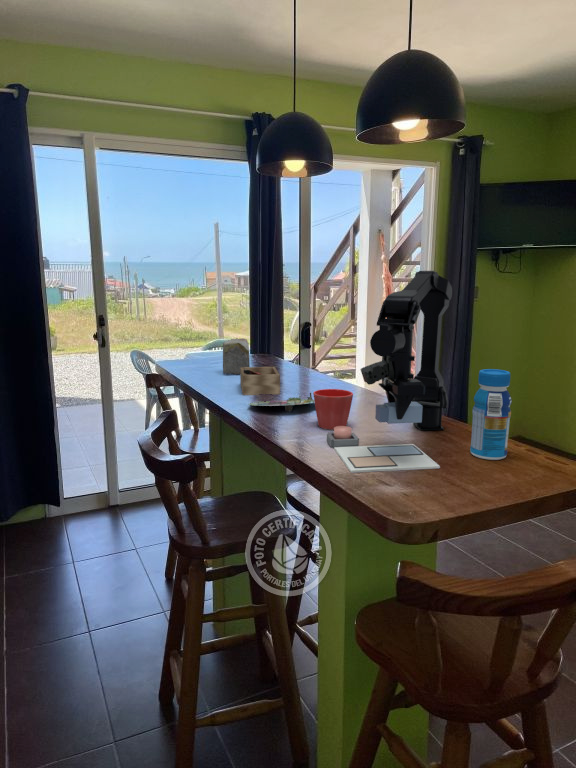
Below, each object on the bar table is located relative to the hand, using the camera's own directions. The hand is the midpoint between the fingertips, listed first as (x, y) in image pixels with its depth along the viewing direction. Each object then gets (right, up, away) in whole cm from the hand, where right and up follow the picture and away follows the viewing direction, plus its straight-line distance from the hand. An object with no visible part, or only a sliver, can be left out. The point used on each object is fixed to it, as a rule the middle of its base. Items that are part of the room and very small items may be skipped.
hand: (396, 416), depth 127 cm
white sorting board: (-3, -9, -2) cm, 10 cm away
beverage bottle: (+22, -9, +1) cm, 24 cm away
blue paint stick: (0, -1, 0) cm, 1 cm away
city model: (-26, 0, +47) cm, 54 cm away
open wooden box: (-36, +6, +72) cm, 81 cm away
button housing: (-12, -7, +9) cm, 16 cm away
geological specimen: (-47, +12, +103) cm, 114 cm away
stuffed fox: (-39, +5, +72) cm, 82 cm away
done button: (-12, -7, +9) cm, 16 cm away
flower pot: (-13, -4, +25) cm, 28 cm away
